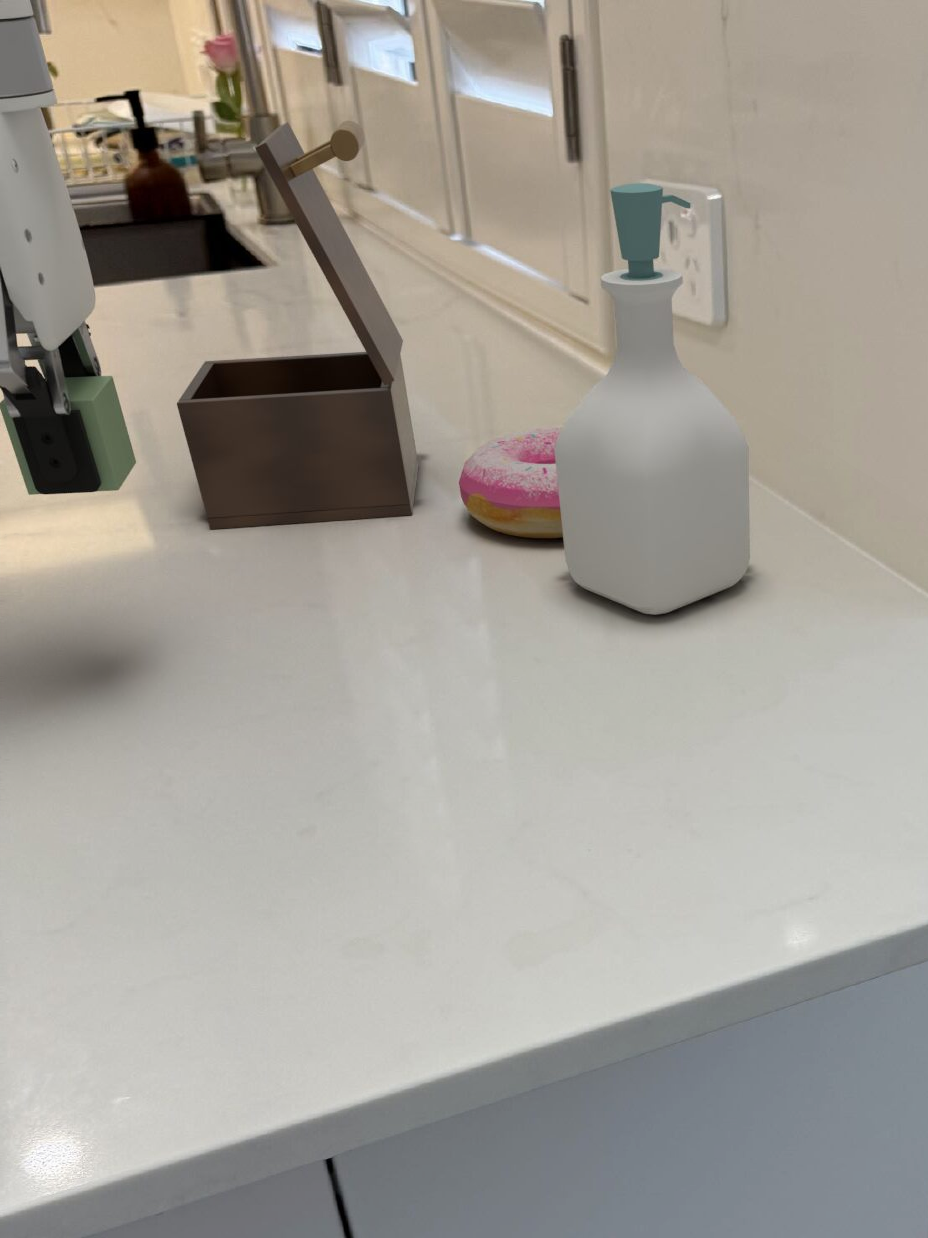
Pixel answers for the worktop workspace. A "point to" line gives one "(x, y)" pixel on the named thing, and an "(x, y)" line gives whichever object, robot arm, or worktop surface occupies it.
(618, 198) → the soap bottle
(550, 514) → the donut
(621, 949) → the worktop surface
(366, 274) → the lid
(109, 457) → the block
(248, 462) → the tea box
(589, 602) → the worktop surface
